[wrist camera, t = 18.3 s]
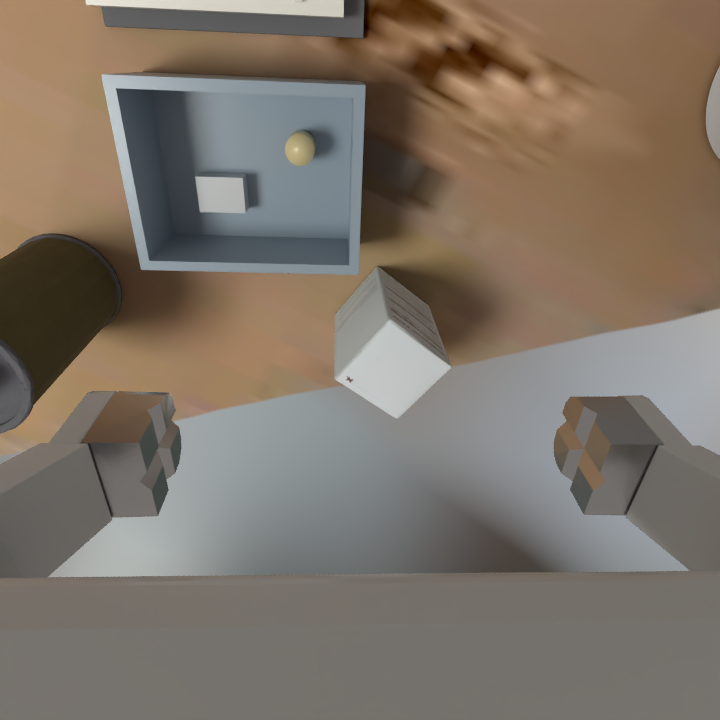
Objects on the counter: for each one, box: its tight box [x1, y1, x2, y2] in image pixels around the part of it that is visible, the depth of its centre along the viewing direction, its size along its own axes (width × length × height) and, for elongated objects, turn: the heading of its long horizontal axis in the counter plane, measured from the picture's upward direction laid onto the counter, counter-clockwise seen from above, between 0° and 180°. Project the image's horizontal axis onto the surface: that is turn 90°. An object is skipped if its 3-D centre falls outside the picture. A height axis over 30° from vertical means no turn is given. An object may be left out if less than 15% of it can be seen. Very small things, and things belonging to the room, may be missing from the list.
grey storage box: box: [101, 72, 366, 275], centre depth 41 cm, size 18×14×8 cm
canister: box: [0, 234, 122, 433], centre depth 41 cm, size 11×10×20 cm
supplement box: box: [335, 266, 451, 418], centre depth 47 cm, size 7×7×13 cm
